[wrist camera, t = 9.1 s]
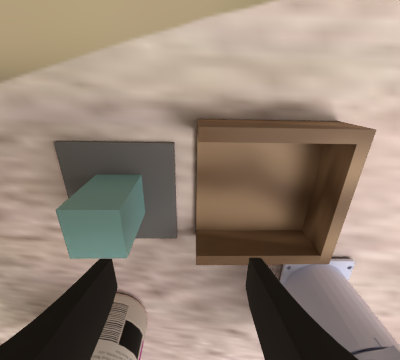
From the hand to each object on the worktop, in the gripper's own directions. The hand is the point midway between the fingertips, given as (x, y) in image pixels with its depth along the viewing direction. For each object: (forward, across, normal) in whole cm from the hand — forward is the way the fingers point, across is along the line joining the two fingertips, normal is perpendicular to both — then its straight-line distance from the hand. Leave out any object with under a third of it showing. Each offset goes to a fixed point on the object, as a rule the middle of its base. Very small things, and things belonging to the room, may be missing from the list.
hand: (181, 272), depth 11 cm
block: (+9, +6, 0) cm, 11 cm away
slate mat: (+10, +6, 0) cm, 12 cm away
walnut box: (+10, -7, -1) cm, 12 cm away
